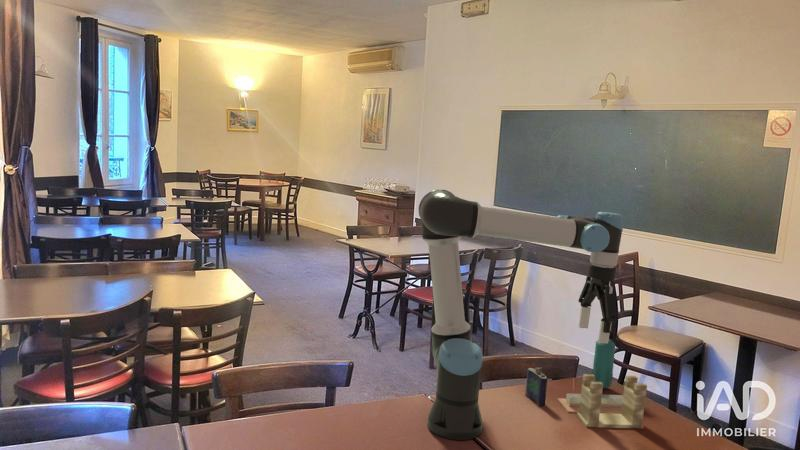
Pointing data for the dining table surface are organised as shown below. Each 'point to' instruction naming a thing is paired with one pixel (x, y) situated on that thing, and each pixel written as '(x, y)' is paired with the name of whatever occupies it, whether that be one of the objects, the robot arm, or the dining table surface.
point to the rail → (606, 400)
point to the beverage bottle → (604, 362)
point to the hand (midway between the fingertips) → (592, 335)
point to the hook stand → (593, 417)
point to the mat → (576, 409)
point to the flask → (536, 386)
